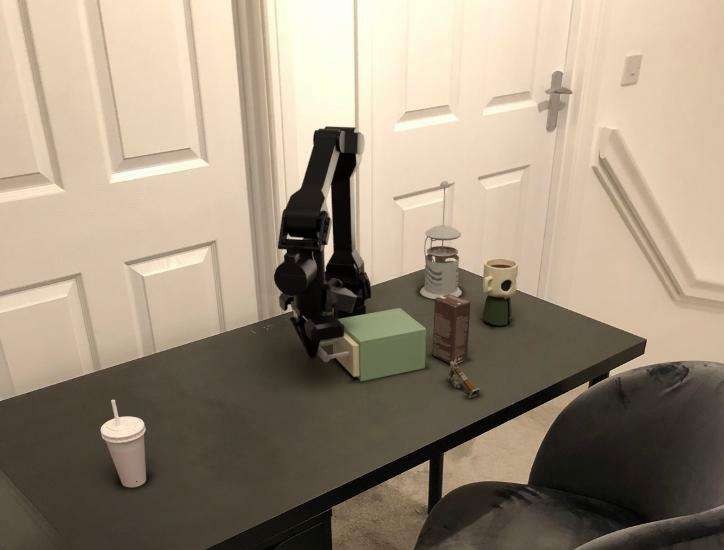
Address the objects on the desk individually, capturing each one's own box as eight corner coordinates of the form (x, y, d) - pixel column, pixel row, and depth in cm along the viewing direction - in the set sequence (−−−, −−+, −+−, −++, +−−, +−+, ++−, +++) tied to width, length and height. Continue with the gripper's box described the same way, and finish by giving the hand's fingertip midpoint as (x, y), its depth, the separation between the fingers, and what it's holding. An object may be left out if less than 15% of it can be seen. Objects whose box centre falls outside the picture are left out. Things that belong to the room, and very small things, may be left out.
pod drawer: (327, 382, 152) (325, 351, 149) (308, 360, 160) (306, 330, 157) (413, 364, 158) (413, 334, 155) (390, 344, 166) (390, 315, 163)
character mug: (495, 334, 173) (499, 273, 165) (468, 325, 177) (471, 265, 169) (524, 318, 179) (530, 260, 172) (498, 310, 183) (502, 252, 176)
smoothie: (116, 470, 130) (98, 391, 122) (158, 468, 130) (142, 389, 122) (109, 493, 124) (89, 411, 116) (152, 491, 125) (135, 409, 117)
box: (468, 359, 162) (471, 301, 156) (451, 366, 160) (454, 307, 153) (447, 349, 166) (450, 292, 159) (431, 355, 164) (432, 297, 157)
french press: (433, 302, 187) (436, 189, 173) (408, 286, 196) (410, 177, 182) (469, 295, 191) (476, 183, 177) (444, 279, 200) (448, 171, 185)
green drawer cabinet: (360, 381, 155) (360, 341, 150) (338, 357, 163) (336, 319, 159) (425, 368, 159) (426, 329, 155) (399, 345, 168) (399, 307, 163)
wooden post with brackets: (448, 374, 155) (456, 357, 151) (472, 404, 152) (480, 388, 148) (441, 376, 154) (448, 360, 150) (465, 407, 151) (473, 390, 147)
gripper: (371, 287, 141) (371, 369, 150) (332, 254, 155) (334, 332, 164) (310, 296, 137) (314, 380, 146) (275, 262, 151) (280, 341, 160)
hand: (312, 357), depth 154 cm, fingers closed, pressing on pod drawer
